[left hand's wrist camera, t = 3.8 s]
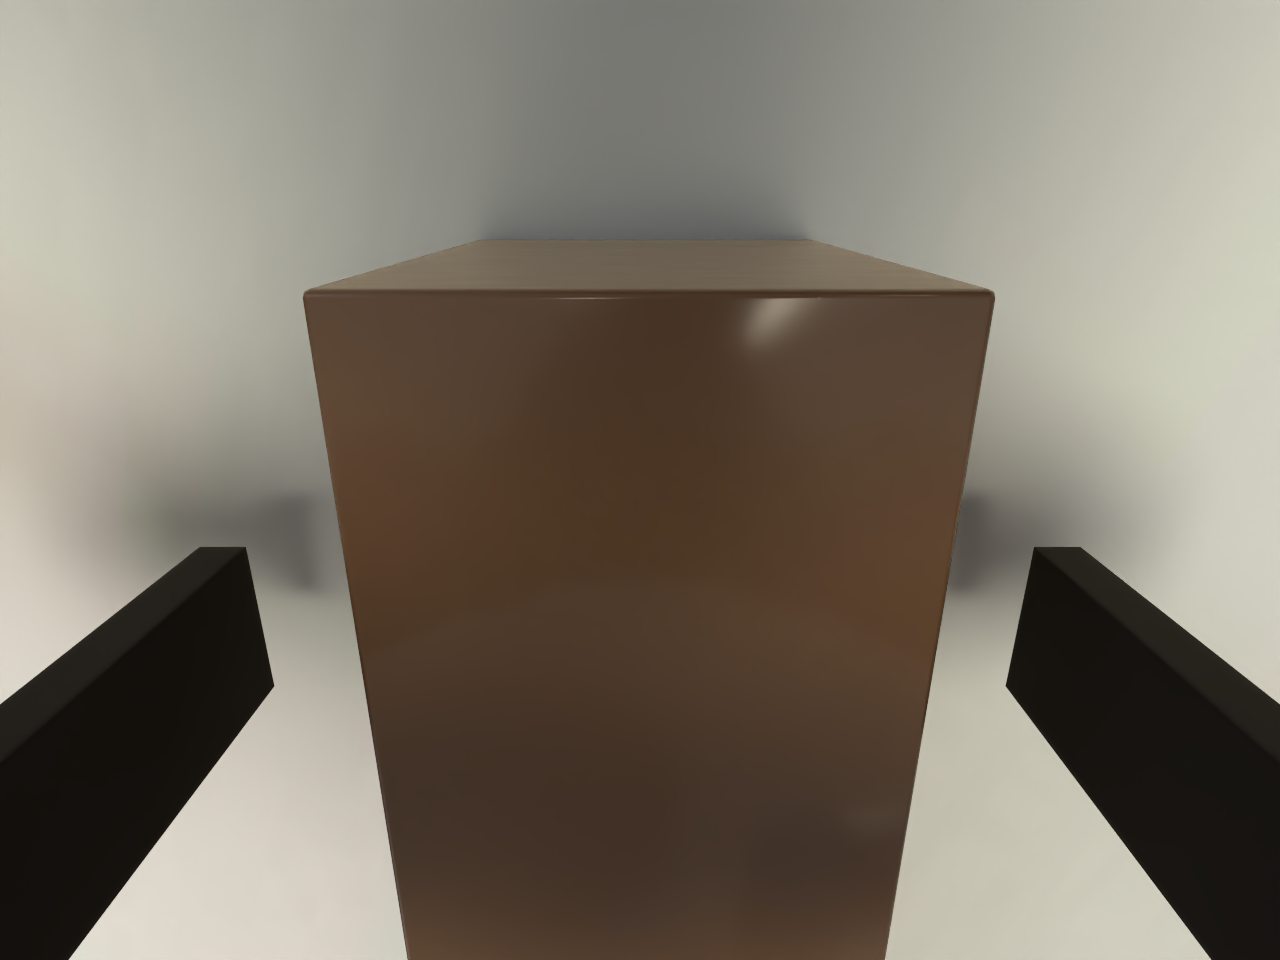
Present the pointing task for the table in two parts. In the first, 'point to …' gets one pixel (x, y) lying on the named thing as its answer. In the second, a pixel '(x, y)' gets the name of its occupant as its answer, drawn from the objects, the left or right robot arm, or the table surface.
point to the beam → (647, 583)
